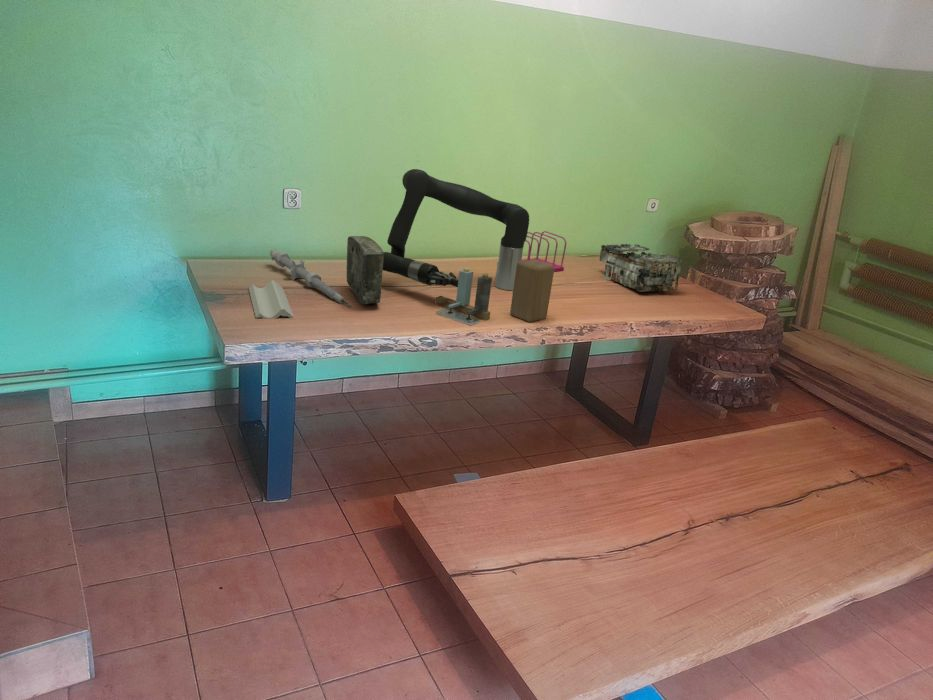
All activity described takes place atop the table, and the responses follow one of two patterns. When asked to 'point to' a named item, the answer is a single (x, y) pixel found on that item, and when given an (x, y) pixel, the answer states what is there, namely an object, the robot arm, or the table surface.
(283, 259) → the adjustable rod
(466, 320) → the grey flat plate
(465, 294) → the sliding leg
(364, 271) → the concrete block
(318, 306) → the table surface
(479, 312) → the dark grey l-shaped piece
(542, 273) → the block
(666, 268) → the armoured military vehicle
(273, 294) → the crown molding
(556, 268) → the file sorter
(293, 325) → the table surface
